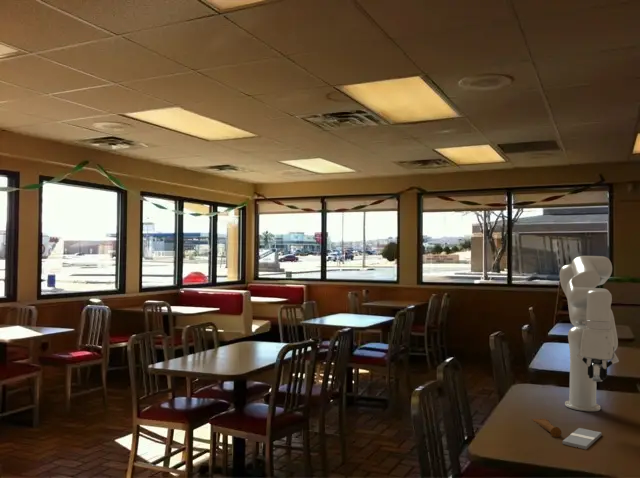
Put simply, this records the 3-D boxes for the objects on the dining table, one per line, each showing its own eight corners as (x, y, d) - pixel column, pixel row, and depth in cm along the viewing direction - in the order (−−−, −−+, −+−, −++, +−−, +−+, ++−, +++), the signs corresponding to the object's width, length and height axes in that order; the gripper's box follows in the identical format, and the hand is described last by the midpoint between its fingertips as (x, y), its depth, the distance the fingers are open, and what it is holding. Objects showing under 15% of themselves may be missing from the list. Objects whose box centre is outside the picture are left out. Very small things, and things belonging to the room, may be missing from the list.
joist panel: (579, 430, 194) (579, 427, 194) (601, 435, 190) (601, 432, 190) (562, 444, 180) (562, 440, 180) (586, 449, 176) (586, 445, 176)
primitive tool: (530, 420, 206) (531, 410, 206) (546, 421, 206) (546, 411, 206) (550, 438, 187) (551, 427, 187) (567, 439, 187) (568, 428, 187)
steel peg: (593, 379, 200) (593, 356, 201) (603, 380, 198) (603, 357, 199) (590, 380, 198) (591, 357, 198) (600, 382, 196) (601, 358, 196)
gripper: (570, 324, 201) (569, 376, 201) (621, 329, 190) (620, 384, 190) (576, 322, 207) (575, 373, 206) (626, 327, 196) (625, 380, 196)
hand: (597, 378), depth 198 cm, fingers closed on steel peg, 3 cm apart
